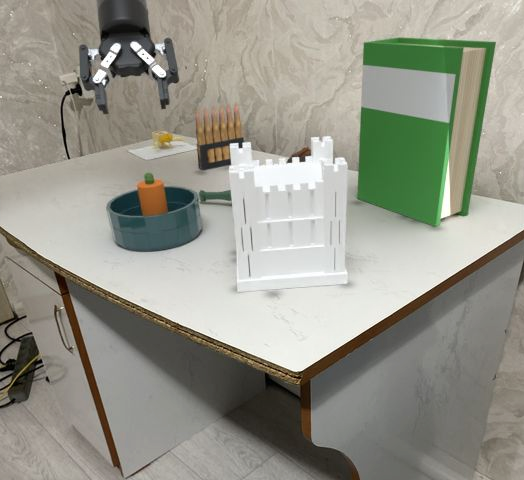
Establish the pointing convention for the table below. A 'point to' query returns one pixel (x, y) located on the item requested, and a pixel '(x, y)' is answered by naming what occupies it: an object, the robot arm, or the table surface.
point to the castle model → (289, 219)
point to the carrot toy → (152, 196)
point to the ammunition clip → (217, 137)
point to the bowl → (155, 220)
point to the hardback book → (422, 124)
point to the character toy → (163, 146)
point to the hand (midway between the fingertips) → (134, 108)
